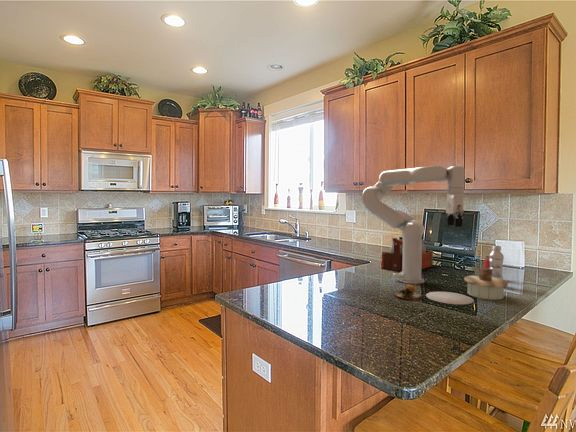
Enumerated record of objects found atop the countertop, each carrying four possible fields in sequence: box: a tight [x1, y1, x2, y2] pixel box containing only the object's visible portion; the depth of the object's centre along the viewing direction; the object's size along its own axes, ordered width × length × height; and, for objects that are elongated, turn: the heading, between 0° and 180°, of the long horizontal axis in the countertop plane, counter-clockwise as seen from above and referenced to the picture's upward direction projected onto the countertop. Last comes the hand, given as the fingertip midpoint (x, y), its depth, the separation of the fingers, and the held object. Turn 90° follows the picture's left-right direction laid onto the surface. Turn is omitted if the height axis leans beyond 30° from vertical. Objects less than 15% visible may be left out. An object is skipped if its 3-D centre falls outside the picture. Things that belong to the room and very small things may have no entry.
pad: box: [425, 291, 475, 305], centre depth 151 cm, size 19×19×1 cm
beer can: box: [483, 255, 490, 269], centre depth 187 cm, size 7×7×12 cm
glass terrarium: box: [393, 284, 422, 301], centre depth 152 cm, size 12×12×8 cm
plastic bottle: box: [488, 245, 505, 280], centre depth 173 cm, size 6×7×20 cm
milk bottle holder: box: [380, 236, 434, 272], centre depth 217 cm, size 21×35×19 cm, turn 137°
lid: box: [463, 267, 508, 288], centre depth 155 cm, size 17×17×6 cm
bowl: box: [466, 283, 505, 300], centre depth 155 cm, size 14×14×6 cm
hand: (454, 225), depth 170 cm, fingers open, 9 cm apart
